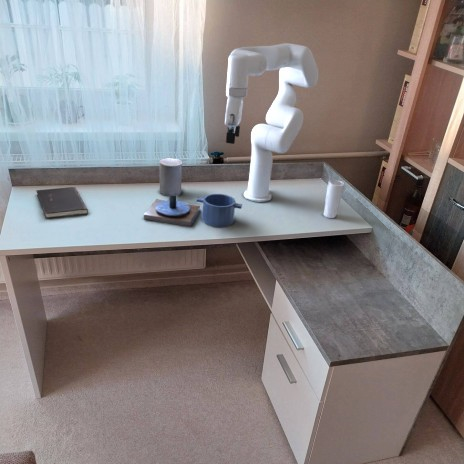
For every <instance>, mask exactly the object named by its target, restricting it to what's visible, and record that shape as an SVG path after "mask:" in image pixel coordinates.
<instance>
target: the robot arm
mask: <svg viewBox="0 0 464 464" xmlns="http://www.w3.org/2000/svg"><path fill="white" fill-rule="evenodd" d="M227 62H228V63H227V73H226V75H227V76H226V87H225V89H226V90H225V96H226V97H227V101H226V109H225V116H224V125H225V126H227V129H226V137H225V143H226V144H230V145H234V144H235V143H236V142H235V141H236V138H238V137H240V130H241V126H240V125H241V121H242V116H243V109H244V108H243V107H244V99H246V98H247V95H248V86H249V85H248V84H249V76H251V77H259V76H261V75H263V74H264V73H265V72H266V71H267V72H268V71H269V72H273V71H277V70H279V72H278V75H279V76H278V77H279V78H278V86H279V87H278V93H277V95H276V97H275V99H274V100H273V102H272V104H271V105H270V107H269V109H268V110H267V113H266V115H265V122H266V123H258V124H256V125H255V126H254V127H253V128H252V130H251V133H250V142H251V154H250V166H249V176H248V184H247V189H246V190H245V191H244V192H243V197H244V198H245V199H246V200H248V201H252V202H258V203H265V202H268V201H270V200H271V199H272V193H271V192H270V185H271V178H272V170H273V169H272V168H273V162H274V157H273V152H274V153H276V154H285V153H287V152H288V151H289V150H290V148H291V147H292V145H293V143H294V141H295V139H296V138H297V136H298V134H299V132H300V131H301V129H302V126H303V124H304V119H305V118H304V117H305V116H304V113H303V111H302V110H301V109H300V108H297V107H295V105H296V103H297V101H298V100H297V99H298V97H297V93H296V91H295V88H294V86H296V87H301V88H305V89H306V88H307V89H311V88H314V87H315V86H316V85H317V83H318V81H319V74H320V73H319V68H318V65H317V62H316V60H315V56H314V55H313V53H312V50H311V49H310V48H309V47H307V46H306V45H301V44H296V43H289V42H286V43H279V44H273V45H260V46H259V45H257V46H243V47H236V48H235V49H233V50H232V51H231V53H230V54H229V56H228V61H227Z"/></svg>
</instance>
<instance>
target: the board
mask: <svg viewBox="0 0 464 464" xmlns="http://www.w3.org/2000/svg"><path fill="white" fill-rule="evenodd" d="M162 201H166V200H163V199H160V198H159V199H158V198H156V199H155V200H154V202H152V204H151V205H150V206H149V207H148V209H146V211H145V212H144V213H143V220H148V221H154V222H160V223H167V224H172V225H178V226H185V227H191V226H192V224H193V223H194V222H195V221H196V220H195V219H196V218H197V216H198V215H199V213H200V212H201V206H200V205H196V204H190V203H186V204H187V205H189V207H190V211H189V212H188V213H187V214H185V215H181V216H167V215H163V214H161V213H159V212H157V211H156V205H157V204H158V203H160V202H162Z"/></svg>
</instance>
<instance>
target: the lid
mask: <svg viewBox="0 0 464 464" xmlns="http://www.w3.org/2000/svg"><path fill="white" fill-rule="evenodd" d="M168 197H169V198H168V200H165V201H162V202H160V203H158V204H157V205H156V211H157V212H159V213H161V214H163V215H167V216H181V215H185V214H187V213H188V212H189V211H190V207H189V205H187V204H188V203H186V202H184V201H181V200H177V196H176V194H175V193H170V194H169V196H168Z"/></svg>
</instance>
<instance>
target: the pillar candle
mask: <svg viewBox="0 0 464 464" xmlns="http://www.w3.org/2000/svg"><path fill="white" fill-rule="evenodd" d="M182 169H183V162H182V161H181V160H180V159H179V158H172V157H167V158H162V159H160V160H159V193H160V194H161V195H163V196H167V197H169V194H170V193H175V194H176V197H177V196H179V195H181V194H182V174H183V173H182Z"/></svg>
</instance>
